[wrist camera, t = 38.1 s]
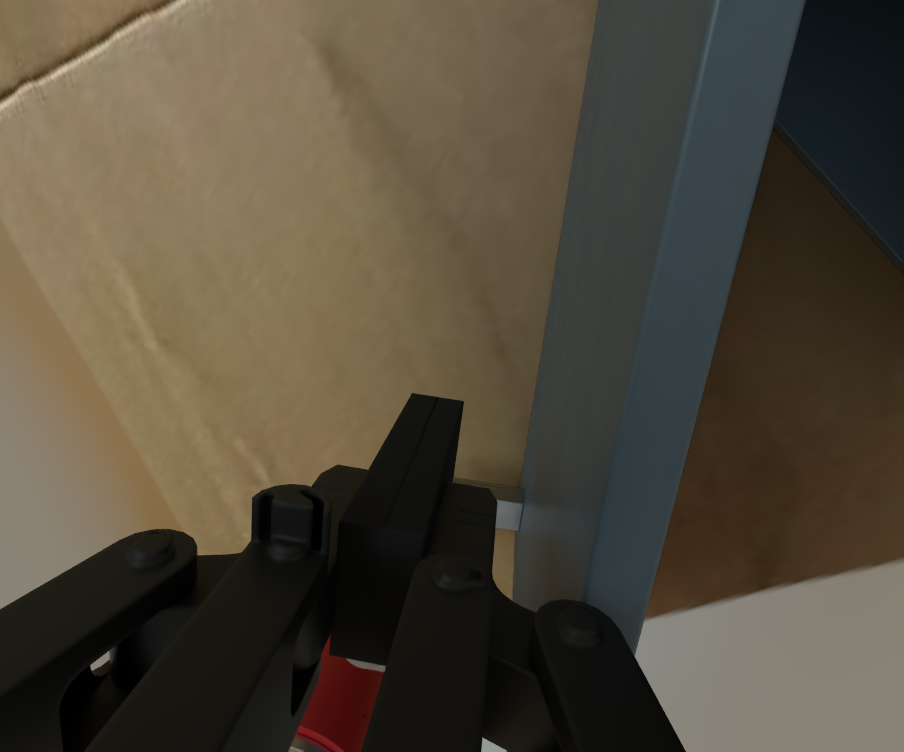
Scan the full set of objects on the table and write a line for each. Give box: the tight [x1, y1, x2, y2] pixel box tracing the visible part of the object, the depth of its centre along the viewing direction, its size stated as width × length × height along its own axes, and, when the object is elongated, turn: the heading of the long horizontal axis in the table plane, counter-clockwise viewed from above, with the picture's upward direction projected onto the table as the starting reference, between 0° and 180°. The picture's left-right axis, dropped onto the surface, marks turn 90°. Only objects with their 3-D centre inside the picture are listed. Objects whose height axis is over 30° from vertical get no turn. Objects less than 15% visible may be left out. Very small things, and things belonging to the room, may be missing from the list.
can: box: [288, 634, 384, 752], centre depth 27 cm, size 7×7×12 cm
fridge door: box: [346, 0, 806, 752], centre depth 18 cm, size 6×24×19 cm, turn 174°
